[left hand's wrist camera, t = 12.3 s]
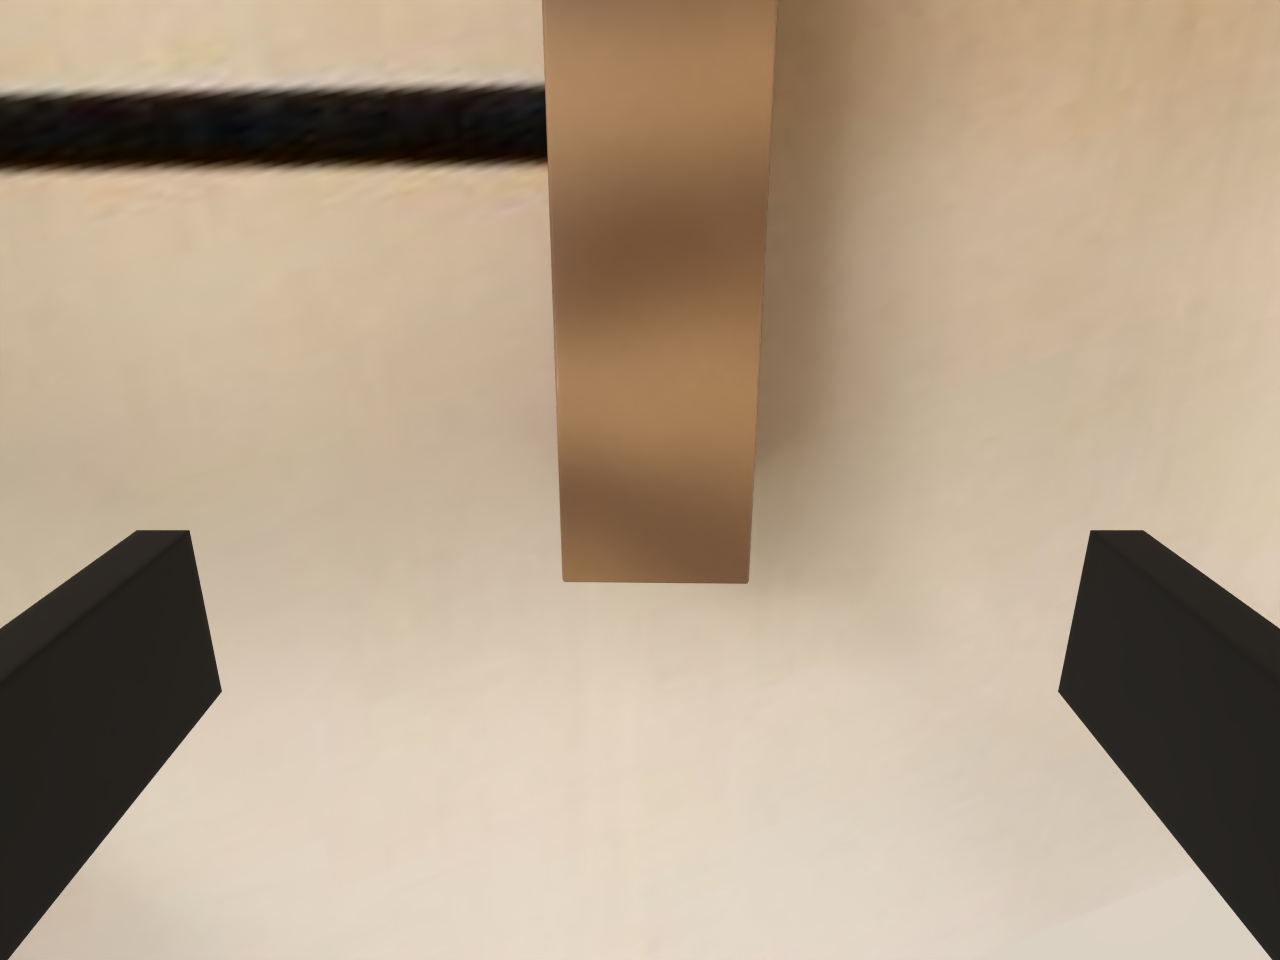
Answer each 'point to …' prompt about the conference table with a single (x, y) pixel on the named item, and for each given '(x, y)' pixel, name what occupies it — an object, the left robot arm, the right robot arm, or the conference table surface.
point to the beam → (657, 279)
